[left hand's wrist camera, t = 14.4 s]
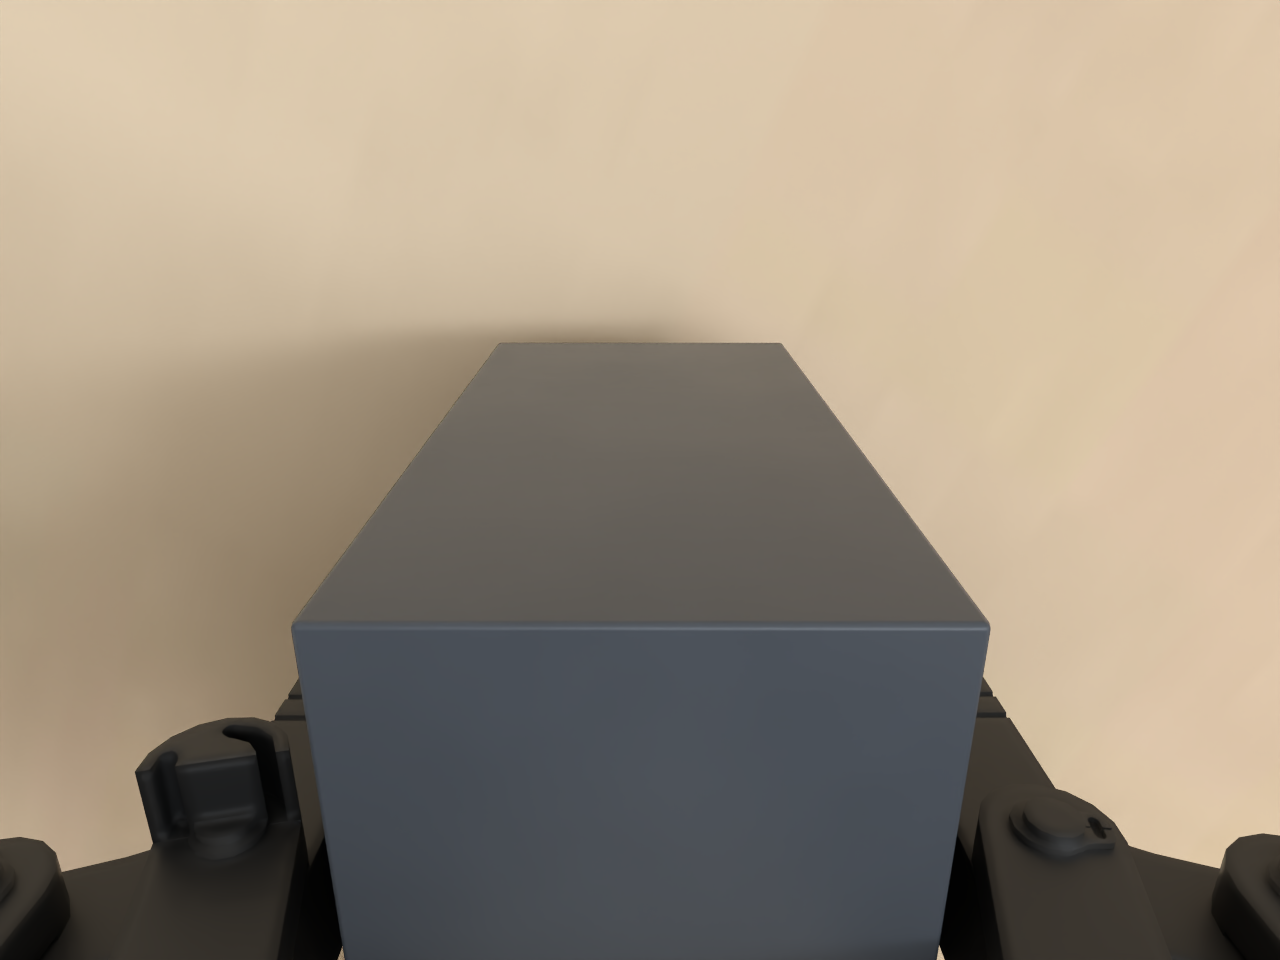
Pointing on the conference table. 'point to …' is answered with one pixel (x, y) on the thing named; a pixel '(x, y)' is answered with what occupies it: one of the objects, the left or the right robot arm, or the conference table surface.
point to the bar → (640, 677)
